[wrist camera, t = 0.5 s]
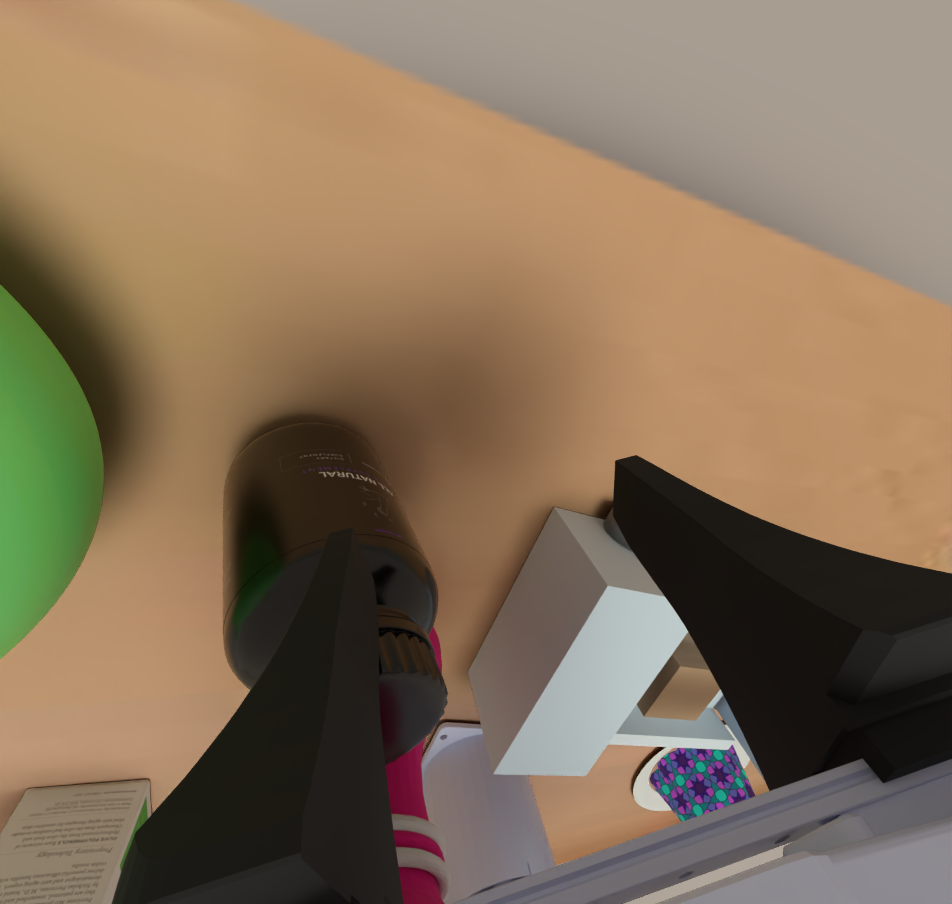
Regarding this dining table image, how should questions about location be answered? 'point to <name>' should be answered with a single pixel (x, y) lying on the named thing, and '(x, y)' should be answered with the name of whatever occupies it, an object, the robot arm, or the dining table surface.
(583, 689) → the ute bed
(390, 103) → the dining table surface
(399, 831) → the pepper mill
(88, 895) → the skincare box
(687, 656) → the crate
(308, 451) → the supplement bottle
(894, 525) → the dining table surface
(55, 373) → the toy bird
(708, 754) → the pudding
